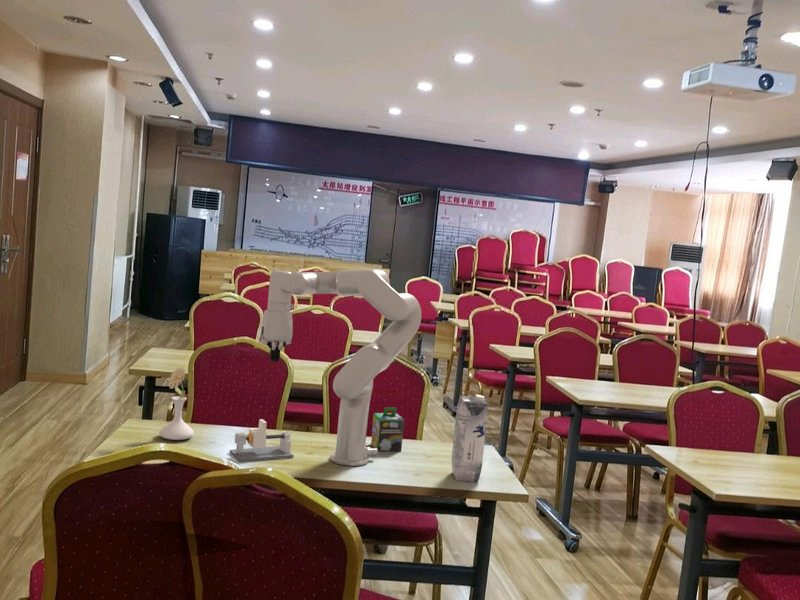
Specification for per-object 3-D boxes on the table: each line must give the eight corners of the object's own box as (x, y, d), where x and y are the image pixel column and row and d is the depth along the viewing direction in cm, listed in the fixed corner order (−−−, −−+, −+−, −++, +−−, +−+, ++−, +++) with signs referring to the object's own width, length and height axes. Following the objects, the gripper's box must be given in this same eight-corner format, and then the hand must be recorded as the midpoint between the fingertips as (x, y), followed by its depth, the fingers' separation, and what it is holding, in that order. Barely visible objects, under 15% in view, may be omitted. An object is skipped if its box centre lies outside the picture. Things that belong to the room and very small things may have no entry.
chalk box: (394, 443, 267) (398, 403, 266) (402, 451, 258) (406, 410, 257) (369, 443, 264) (373, 403, 263) (376, 451, 255) (381, 409, 254)
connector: (241, 452, 236) (243, 432, 236) (244, 455, 234) (246, 435, 233) (233, 453, 235) (235, 433, 234) (237, 455, 232) (238, 435, 232)
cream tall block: (259, 442, 240) (261, 418, 239) (265, 447, 236) (267, 422, 235) (248, 443, 238) (249, 419, 237) (253, 447, 234) (255, 423, 233)
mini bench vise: (281, 448, 247) (283, 428, 247) (293, 457, 239) (295, 436, 238) (229, 452, 238) (231, 431, 237) (240, 462, 229) (241, 440, 229)
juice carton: (453, 481, 231) (462, 397, 228) (449, 471, 241) (457, 390, 239) (481, 483, 231) (490, 399, 229) (475, 472, 242) (484, 392, 240)
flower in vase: (158, 433, 251) (163, 361, 249) (192, 433, 255) (197, 362, 253) (159, 444, 239) (164, 369, 237) (195, 444, 243) (201, 370, 241)
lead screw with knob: (285, 438, 244) (286, 430, 244) (289, 441, 241) (290, 432, 241) (239, 442, 235) (240, 432, 235) (242, 444, 233) (243, 435, 233)
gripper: (295, 306, 253) (290, 359, 255) (253, 305, 245) (249, 359, 247) (304, 309, 247) (299, 363, 248) (261, 308, 239) (257, 363, 240)
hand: (274, 361), depth 247 cm, fingers closed
